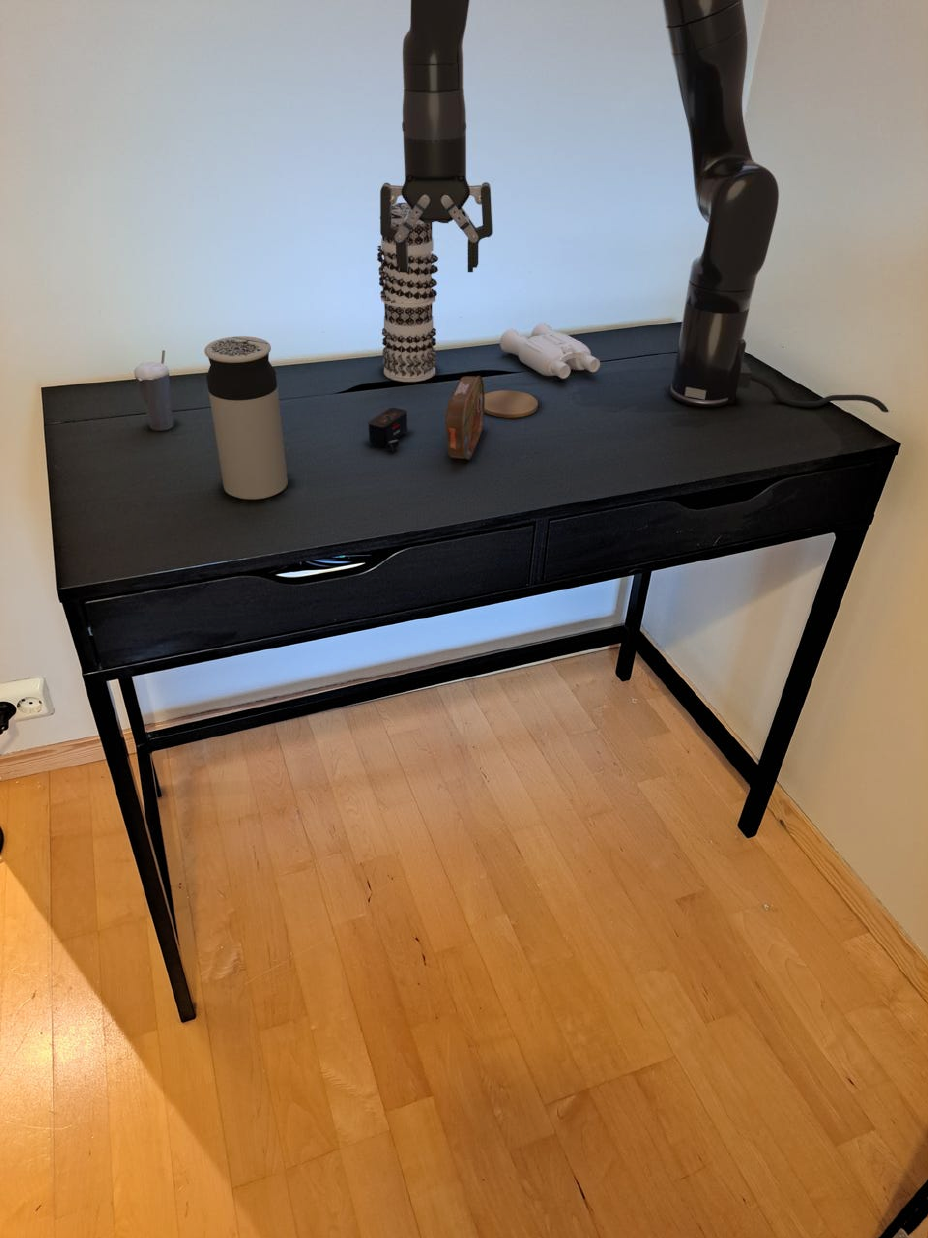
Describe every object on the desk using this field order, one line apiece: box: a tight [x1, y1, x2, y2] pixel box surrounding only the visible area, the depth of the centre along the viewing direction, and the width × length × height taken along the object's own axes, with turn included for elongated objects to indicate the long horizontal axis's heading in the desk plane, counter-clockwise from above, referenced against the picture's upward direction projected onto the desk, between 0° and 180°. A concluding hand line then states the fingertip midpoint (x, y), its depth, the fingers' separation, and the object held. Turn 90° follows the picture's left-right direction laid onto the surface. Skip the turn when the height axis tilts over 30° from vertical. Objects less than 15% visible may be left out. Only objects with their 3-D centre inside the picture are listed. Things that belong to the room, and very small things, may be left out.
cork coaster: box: [484, 389, 539, 419], centre depth 136 cm, size 9×9×1 cm
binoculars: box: [499, 322, 601, 380], centre depth 148 cm, size 10×16×5 cm, turn 30°
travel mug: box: [203, 335, 289, 500], centre depth 108 cm, size 8×8×18 cm
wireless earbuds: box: [368, 407, 408, 452], centre depth 124 cm, size 5×7×3 cm, turn 152°
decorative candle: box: [376, 202, 439, 383], centre depth 138 cm, size 9×9×25 cm
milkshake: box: [133, 350, 175, 432], centre depth 125 cm, size 4×5×10 cm
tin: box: [445, 375, 485, 461], centre depth 122 cm, size 15×3×8 cm, turn 168°
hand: (437, 270), depth 118 cm, fingers open, 8 cm apart
